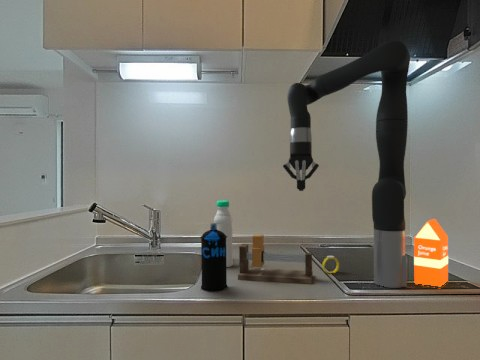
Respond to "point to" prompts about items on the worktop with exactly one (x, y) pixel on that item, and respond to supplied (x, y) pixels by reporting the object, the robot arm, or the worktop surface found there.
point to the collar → (257, 250)
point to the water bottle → (225, 228)
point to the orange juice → (431, 255)
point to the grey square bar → (279, 257)
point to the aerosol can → (213, 259)
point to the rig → (274, 271)
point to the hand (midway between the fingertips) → (301, 190)
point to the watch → (328, 259)
